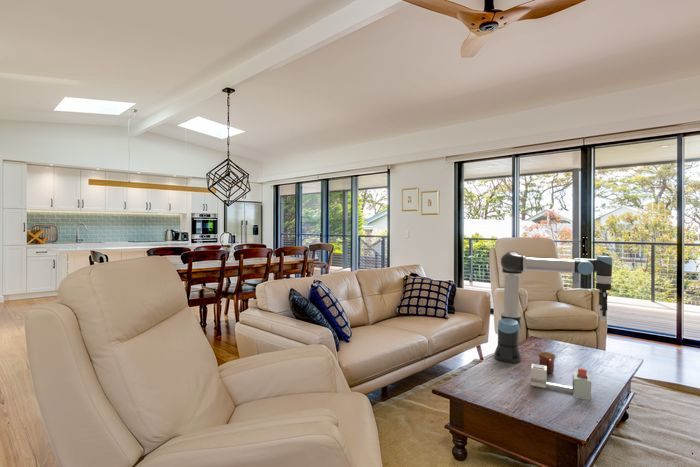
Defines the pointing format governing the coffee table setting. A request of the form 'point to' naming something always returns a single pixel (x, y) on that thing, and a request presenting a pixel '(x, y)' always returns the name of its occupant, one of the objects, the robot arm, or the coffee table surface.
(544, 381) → the cream and grey block
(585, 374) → the button
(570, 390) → the rail
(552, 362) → the mug
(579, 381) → the end cabinet
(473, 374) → the coffee table surface
